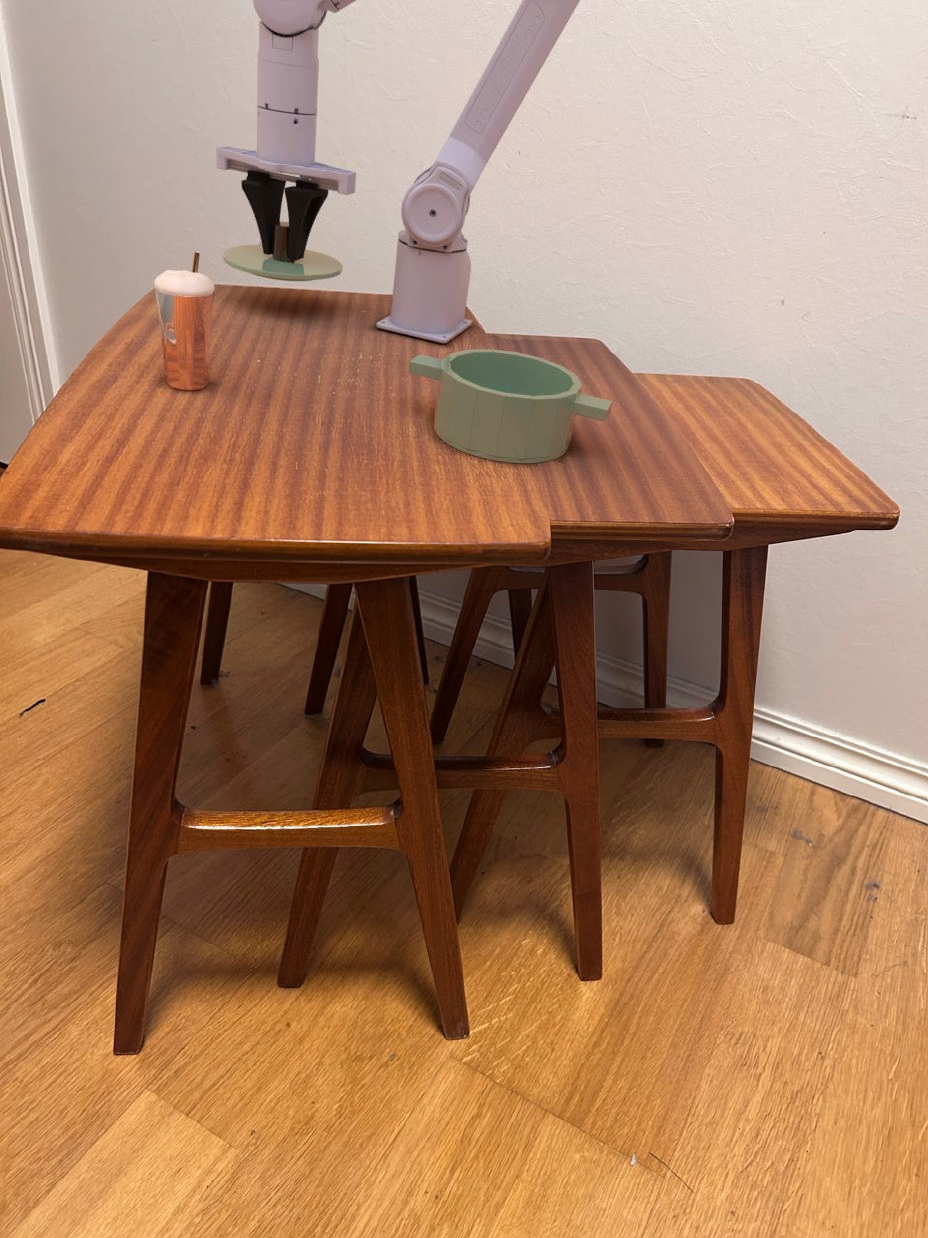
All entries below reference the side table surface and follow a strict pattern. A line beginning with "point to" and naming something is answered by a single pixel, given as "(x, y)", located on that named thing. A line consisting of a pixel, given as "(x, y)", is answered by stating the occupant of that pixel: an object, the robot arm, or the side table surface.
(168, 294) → the milkshake
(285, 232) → the pot lid
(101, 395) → the side table surface
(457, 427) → the green cooking pot
